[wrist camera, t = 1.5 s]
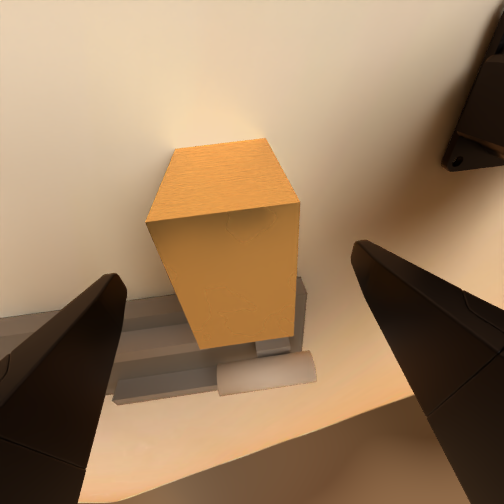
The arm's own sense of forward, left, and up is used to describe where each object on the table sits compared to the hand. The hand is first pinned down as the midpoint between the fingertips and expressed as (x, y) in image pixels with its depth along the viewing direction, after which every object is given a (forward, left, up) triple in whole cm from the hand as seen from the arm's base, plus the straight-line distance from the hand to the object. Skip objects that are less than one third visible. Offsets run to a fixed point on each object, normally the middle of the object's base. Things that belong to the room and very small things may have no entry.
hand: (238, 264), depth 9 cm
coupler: (0, 0, -5) cm, 5 cm away
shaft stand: (+7, +11, -5) cm, 14 cm away
